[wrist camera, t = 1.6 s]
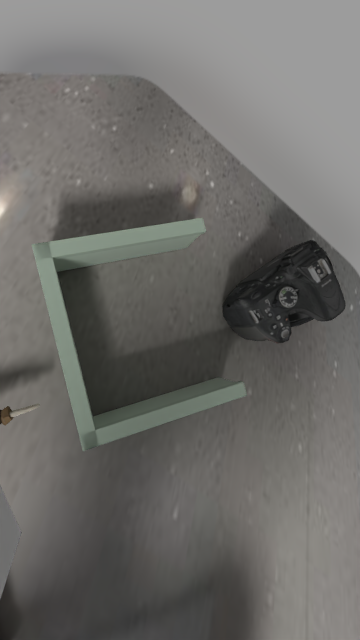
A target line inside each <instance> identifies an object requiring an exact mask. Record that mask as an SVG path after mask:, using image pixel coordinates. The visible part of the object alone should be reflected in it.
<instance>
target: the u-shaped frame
mask: <svg viewBox="0 0 360 640" xmlns="http://www.w3.org/2000/svg"><path fill="white" fill-rule="evenodd" d="M205 232H206V229H205V225H204V221H203V218H197V219H191V220H185V221H178V222H172V223H165V224H159V225H153V226H146V227H140V228H134V229H127V230H121V231H114V232H108V233H102V234H95V235H89V236H82V237H76V238H70V239H63V240H57V241H50V242H44V243H38V244H32V248H33V252H34V256H35V260H36V264H37V268H38V272H39V276H40V280H41V284H42V289H43V293H44V297H45V301H46V305H47V309H48V313H49V317H50V321H51V325H52V329H53V333H54V337H55V341H56V345H57V349H58V353H59V357H60V361H61V365H62V369H63V373H64V377H65V381H66V385H67V389H68V393H69V398H70V402H71V406H72V410H73V414H74V418H75V422H76V426H77V430H78V434H79V438H80V442H81V446H82V450H83V451H85V450H88V449H91V448H94V447H97V446H100V445H103V444H106V443H109V442H112V441H115V440H117V439H120V438H123V437H126V436H129V435H132V434H135V433H138V432H141V431H144V430H147V429H150V428H153V427H156V426H159V425H162V424H165V423H168V422H170V421H173V420H176V419H179V418H182V417H185V416H188V415H191V414H194V413H197V412H200V411H203V410H206V409H209V408H212V407H215V406H218V405H221V404H224V403H226V402H229V401H232V400H235V399H238V398H241V397H244V396H247V393H246V389H245V385H244V382H242V381H239V382H235V381H231V380H228V379H224V378H220V377H217V378H214V379H211V380H208V381H205V382H201V383H198V384H195V385H192V386H189V387H185V388H182V389H179V390H176V391H173V392H169V393H166V394H163V395H160V396H157V397H153V398H150V399H147V400H144V401H141V402H137V403H134V404H131V405H128V406H125V407H121V408H118V409H115V410H112V411H109V412H105V413H102V414H99V415H96V416H93V414H92V410H91V406H90V402H89V398H88V394H87V390H86V386H85V382H84V378H83V374H82V370H81V366H80V362H79V358H78V354H77V350H76V346H75V342H74V338H73V334H72V330H71V326H70V322H69V318H68V314H67V309H66V305H65V301H64V297H63V293H62V289H61V285H60V281H59V277H58V273H57V272H60V271H65V270H70V269H76V268H81V267H87V266H92V265H98V264H103V263H109V262H114V261H120V260H125V259H131V258H136V257H142V256H147V255H153V254H158V253H164V252H169V251H174V250H180V249H185V248H187V247H188V246H189V245H190V244H191V243H192V242H193V241H194V240H195V239H196V238H197V237H198V236H199V235H200V234H204V233H205Z"/></svg>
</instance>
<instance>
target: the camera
mask: <svg viewBox="0 0 360 640" xmlns="http://www.w3.org/2000/svg"><path fill="white" fill-rule="evenodd" d="M344 309H345V300H344V297H343V294H342V291H341V288H340V285H339V283H338V280H337V278H336V276H335V274H334V271H333V263H332V261H331V259H330V257H329V256H328V255H327V254H326V252H325V251H324V250H323V249H322V248H320V247H319V246H318V244H317V243H316V242H315V241H313V240H310V241H307V242H304V243H301V244H299V245H296V246H294V247H292V248H290V249H287V250H286V251H285V252H284V253H282V254H281V255H279V256H278V257H276V258H275V259H273V260H272V261H270V262H269V263H267V264H266V265H264V266H263V267H261V268H260V269H259V270H257V271H256V272H254V273H253V274H251V275H250V276H248V277H247V278H245V279H244V280H243V281H241V282H240V283H239V284H238V285H237V286H236V288H235V289H234V290H233V291H232V292H231V293H230V294H229V295H228V297H227V299H226V301H225V302H224V305H223V315H224V318H225V319H226V321H227V322H228V324H229V325H230V327H231V328H232V329H233V331H235V332H236V333H237V334H238V335H239V336H241V337H243V338H244V339H248V340H255V341H264V340H270V341H273V342H276V343H283V342H285V341H288V340H289V337H290V335H291V327H294V326H298V325H301V324H304V323H306V322H309V321H311V320H313V319H316V320H318V321H329V320H332V319H334V318H336V317H337V316H338V315H339V314H341V313H342V312H343V311H344Z"/></svg>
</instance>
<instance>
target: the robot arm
mask: <svg viewBox="0 0 360 640" xmlns="http://www.w3.org/2000/svg"><path fill="white" fill-rule="evenodd" d="M21 533H22V532H21V530H20V528H19V525H18V523H17V521H16V519H15V517H14V514H13V512H12V510H11V508H10V506H9V503H8V501H7V499H6V497H5V494H4V492H3V490H2V488H1V486H0V599H1V596H2V593H3V589H4V586H5V583H6V580H7V577H8V574H9V571H10V567H11V564H12V561H13V558H14V555H15V552H16V549H17V545H18V542H19V539H20V536H21Z"/></svg>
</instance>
